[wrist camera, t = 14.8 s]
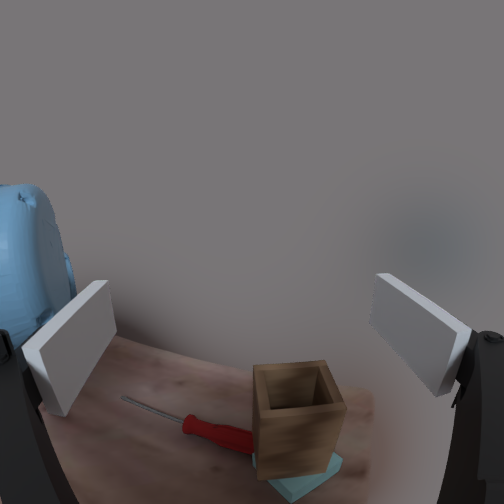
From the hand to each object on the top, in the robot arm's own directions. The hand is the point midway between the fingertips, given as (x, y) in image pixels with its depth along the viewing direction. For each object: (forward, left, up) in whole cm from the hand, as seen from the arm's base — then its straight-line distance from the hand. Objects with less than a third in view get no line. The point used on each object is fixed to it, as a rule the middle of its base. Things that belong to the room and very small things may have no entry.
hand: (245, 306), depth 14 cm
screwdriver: (-20, +1, -30) cm, 36 cm away
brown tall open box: (-7, +9, -26) cm, 29 cm away
